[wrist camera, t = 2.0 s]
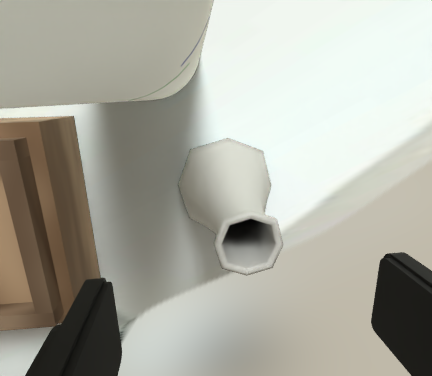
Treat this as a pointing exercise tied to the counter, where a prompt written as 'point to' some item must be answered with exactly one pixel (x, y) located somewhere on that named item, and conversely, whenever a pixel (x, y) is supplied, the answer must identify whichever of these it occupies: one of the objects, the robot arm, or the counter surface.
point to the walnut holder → (42, 222)
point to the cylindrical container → (98, 50)
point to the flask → (232, 203)
